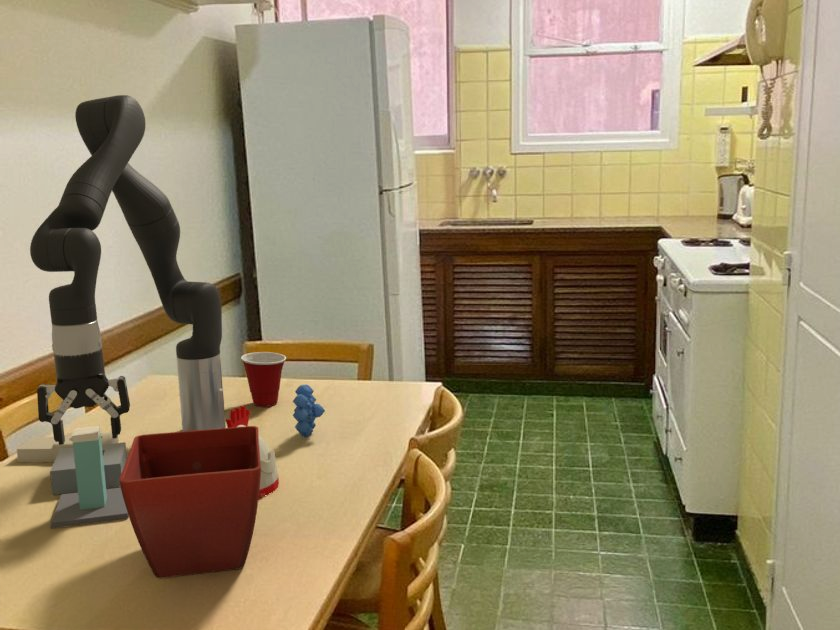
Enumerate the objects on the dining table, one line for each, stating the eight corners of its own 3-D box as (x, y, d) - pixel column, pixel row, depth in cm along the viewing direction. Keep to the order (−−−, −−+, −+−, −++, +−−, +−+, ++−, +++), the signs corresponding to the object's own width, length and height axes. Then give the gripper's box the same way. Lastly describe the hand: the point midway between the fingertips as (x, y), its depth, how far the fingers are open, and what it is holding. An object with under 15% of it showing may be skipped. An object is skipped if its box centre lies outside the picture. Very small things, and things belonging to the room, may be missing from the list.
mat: (132, 491, 151) (132, 486, 150) (127, 518, 139) (127, 513, 139) (62, 499, 148) (61, 494, 147) (51, 528, 136) (50, 522, 136)
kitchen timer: (292, 477, 156) (287, 401, 153) (254, 507, 143) (249, 424, 140) (227, 469, 160) (222, 395, 157) (186, 497, 147) (179, 417, 145)
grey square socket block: (127, 463, 164) (125, 442, 163) (122, 486, 153) (120, 463, 152) (62, 470, 161) (60, 448, 160) (52, 494, 150) (50, 471, 149)
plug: (107, 497, 146) (99, 425, 143) (104, 506, 142) (97, 433, 139) (82, 500, 145) (75, 428, 142) (79, 509, 141) (71, 435, 138)
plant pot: (268, 577, 119) (261, 467, 116) (128, 595, 115) (117, 481, 112) (264, 521, 137) (258, 424, 134) (144, 534, 133) (134, 435, 130)
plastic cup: (284, 409, 197) (282, 360, 194) (239, 410, 197) (236, 361, 195) (292, 396, 207) (289, 350, 205) (249, 397, 208) (246, 350, 205)
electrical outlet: (33, 432, 173) (118, 431, 172) (36, 451, 174) (120, 450, 173) (16, 444, 166) (103, 443, 165) (18, 463, 167) (105, 463, 166)
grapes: (321, 446, 171) (318, 391, 169) (288, 446, 172) (285, 391, 170) (331, 428, 183) (328, 375, 180) (300, 428, 183) (298, 375, 181)
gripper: (124, 339, 143) (133, 428, 146) (35, 346, 139) (47, 437, 143) (121, 349, 136) (131, 442, 139) (27, 357, 132) (39, 453, 136)
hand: (88, 440), depth 141 cm, fingers open, 8 cm apart
